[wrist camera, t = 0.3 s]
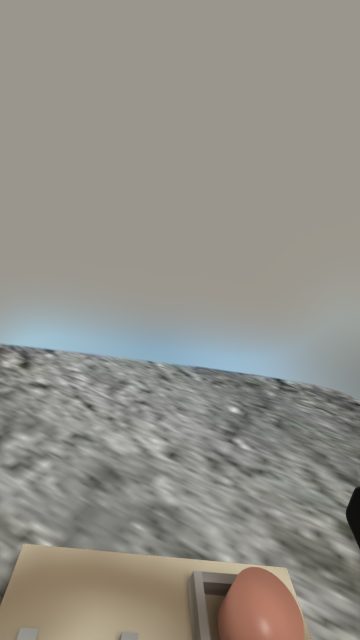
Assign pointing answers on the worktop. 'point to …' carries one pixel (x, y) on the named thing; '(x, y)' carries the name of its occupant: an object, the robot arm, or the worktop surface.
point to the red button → (259, 609)
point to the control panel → (117, 596)
